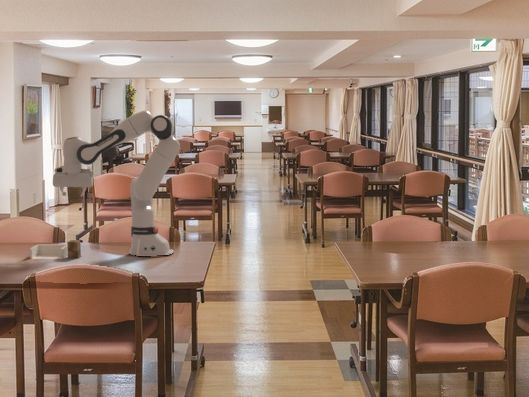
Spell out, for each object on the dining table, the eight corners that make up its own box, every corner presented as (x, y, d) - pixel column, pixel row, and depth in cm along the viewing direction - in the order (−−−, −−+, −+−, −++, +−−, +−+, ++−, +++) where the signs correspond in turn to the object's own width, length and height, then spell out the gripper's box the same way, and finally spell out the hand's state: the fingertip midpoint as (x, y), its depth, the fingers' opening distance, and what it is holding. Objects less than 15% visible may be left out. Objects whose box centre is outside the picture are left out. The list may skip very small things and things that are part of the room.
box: (69, 255, 370) (68, 244, 369) (62, 260, 359) (62, 249, 359) (37, 255, 371) (37, 244, 370) (30, 259, 360) (29, 248, 359)
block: (80, 256, 366) (80, 240, 365) (77, 258, 361) (77, 242, 360) (70, 256, 366) (70, 240, 365) (67, 258, 361) (67, 242, 360)
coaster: (81, 257, 366) (81, 255, 366) (78, 259, 360) (78, 258, 360) (70, 256, 367) (70, 255, 367) (66, 259, 361) (66, 258, 361)
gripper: (94, 168, 378) (95, 195, 379) (55, 168, 378) (55, 194, 380) (91, 169, 371) (91, 196, 373) (51, 169, 372) (52, 196, 374)
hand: (73, 195), depth 377 cm, fingers open, 8 cm apart
